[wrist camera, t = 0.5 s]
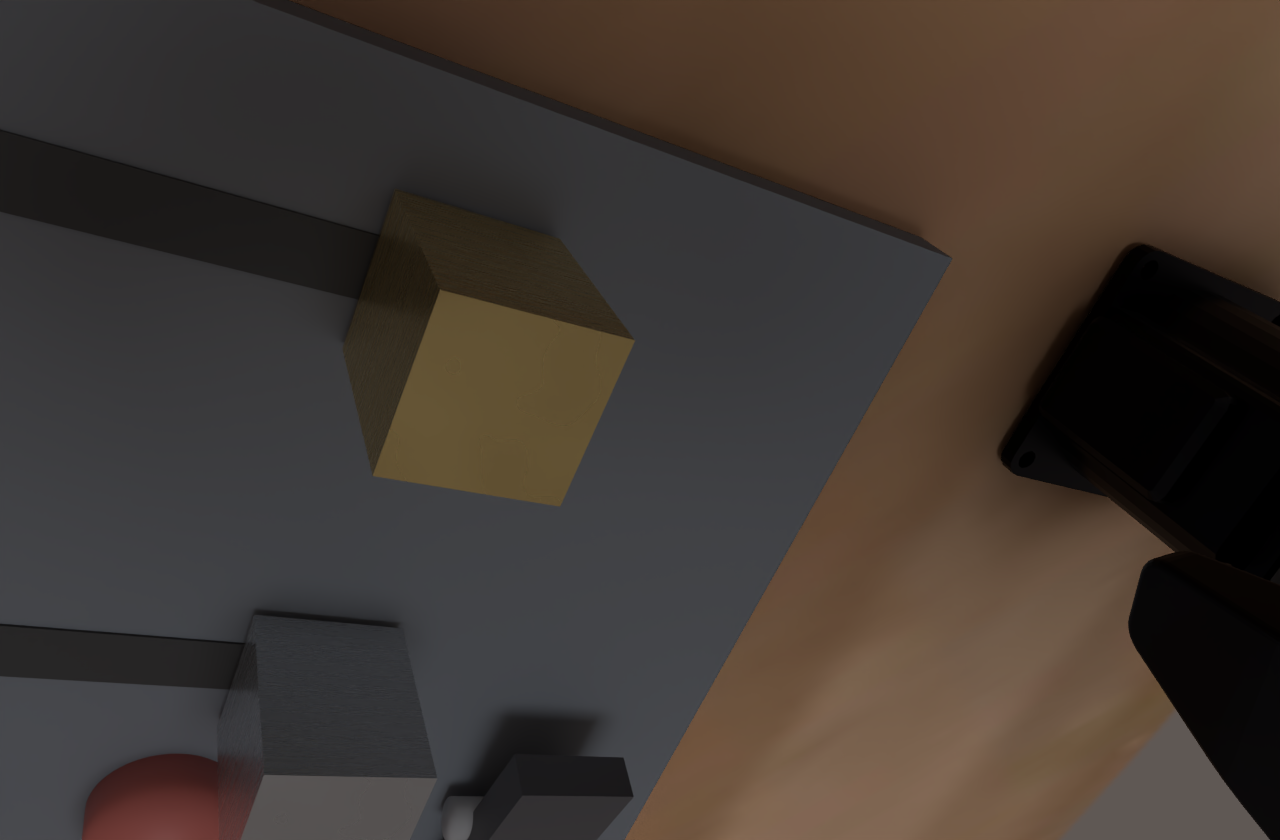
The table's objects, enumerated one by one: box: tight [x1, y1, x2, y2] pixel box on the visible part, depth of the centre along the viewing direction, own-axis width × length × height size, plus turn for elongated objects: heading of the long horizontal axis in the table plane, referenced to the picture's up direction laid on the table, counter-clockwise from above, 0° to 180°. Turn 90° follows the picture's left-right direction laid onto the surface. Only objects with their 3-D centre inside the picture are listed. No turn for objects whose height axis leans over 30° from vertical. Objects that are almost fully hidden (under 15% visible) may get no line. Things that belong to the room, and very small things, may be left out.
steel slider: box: [217, 615, 437, 840], centre depth 20 cm, size 3×3×4 cm
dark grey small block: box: [441, 754, 634, 840], centre depth 25 cm, size 4×6×2 cm, turn 155°
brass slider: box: [342, 189, 635, 507], centre depth 17 cm, size 3×3×4 cm
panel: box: [0, 0, 952, 840], centre depth 20 cm, size 20×19×3 cm
